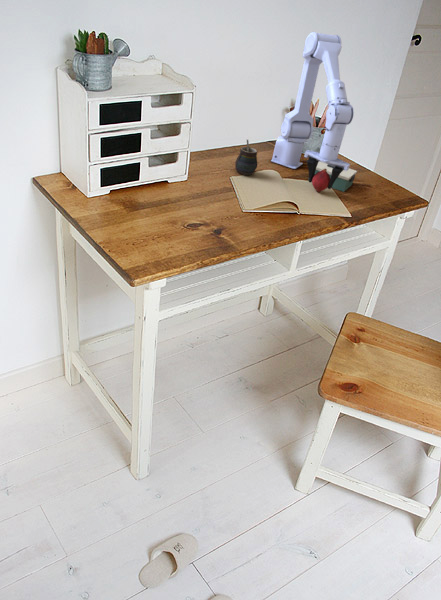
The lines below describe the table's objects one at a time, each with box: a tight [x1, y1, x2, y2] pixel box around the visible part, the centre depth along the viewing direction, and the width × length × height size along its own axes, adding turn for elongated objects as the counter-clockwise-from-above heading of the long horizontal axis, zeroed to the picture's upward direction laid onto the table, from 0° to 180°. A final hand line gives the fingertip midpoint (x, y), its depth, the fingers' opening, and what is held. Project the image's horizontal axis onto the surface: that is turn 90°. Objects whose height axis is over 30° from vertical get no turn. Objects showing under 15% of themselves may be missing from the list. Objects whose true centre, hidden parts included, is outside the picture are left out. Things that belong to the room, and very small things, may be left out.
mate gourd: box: [234, 139, 258, 176], centre depth 182 cm, size 7×8×10 cm
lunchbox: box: [307, 161, 358, 193], centre depth 189 cm, size 14×10×6 cm, turn 61°
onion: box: [311, 168, 330, 193], centre depth 179 cm, size 6×6×8 cm
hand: (320, 184), depth 180 cm, fingers open, 6 cm apart
